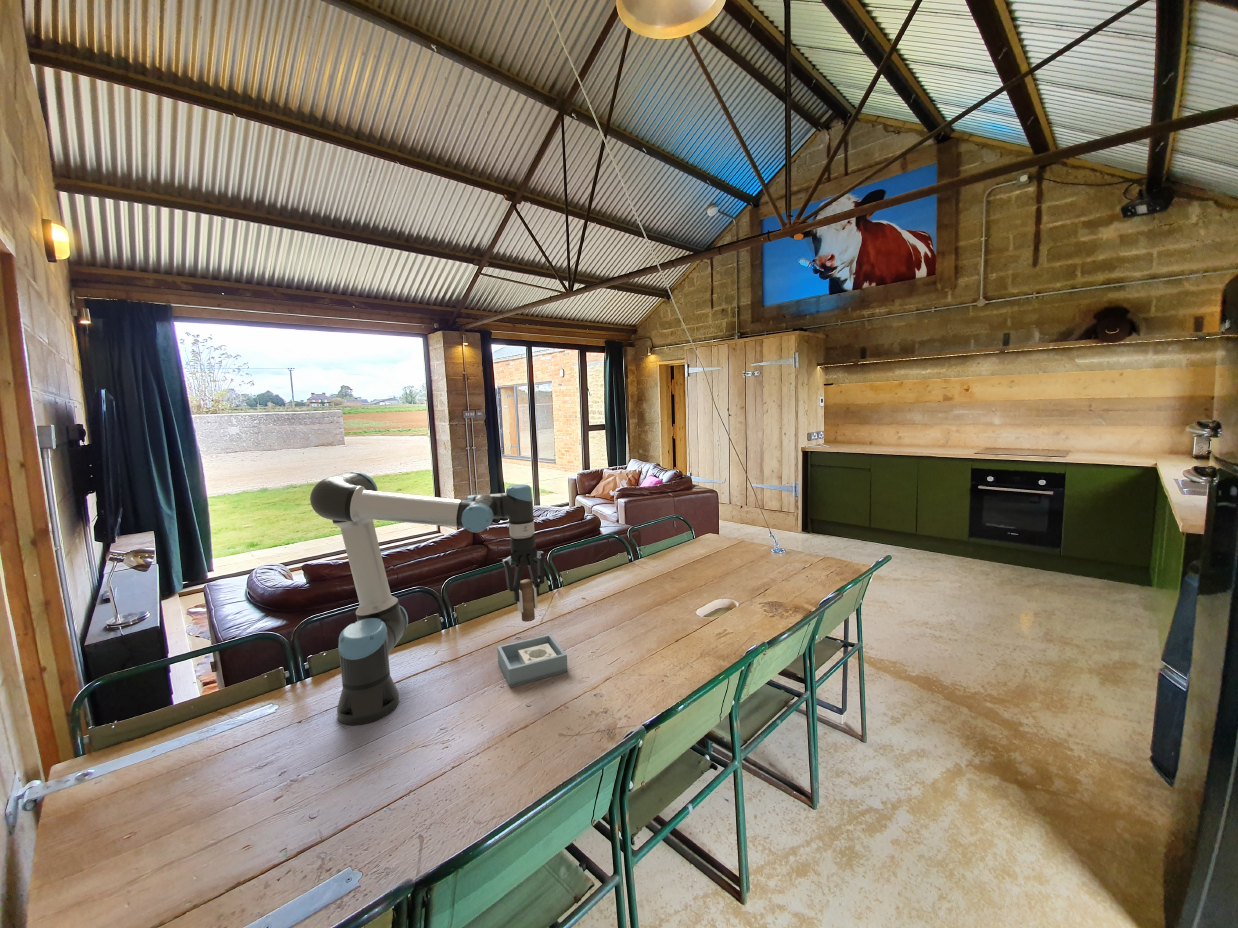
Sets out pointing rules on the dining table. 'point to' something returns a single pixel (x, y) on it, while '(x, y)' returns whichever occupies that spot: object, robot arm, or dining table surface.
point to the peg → (527, 600)
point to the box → (532, 670)
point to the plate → (535, 653)
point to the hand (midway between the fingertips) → (527, 608)
